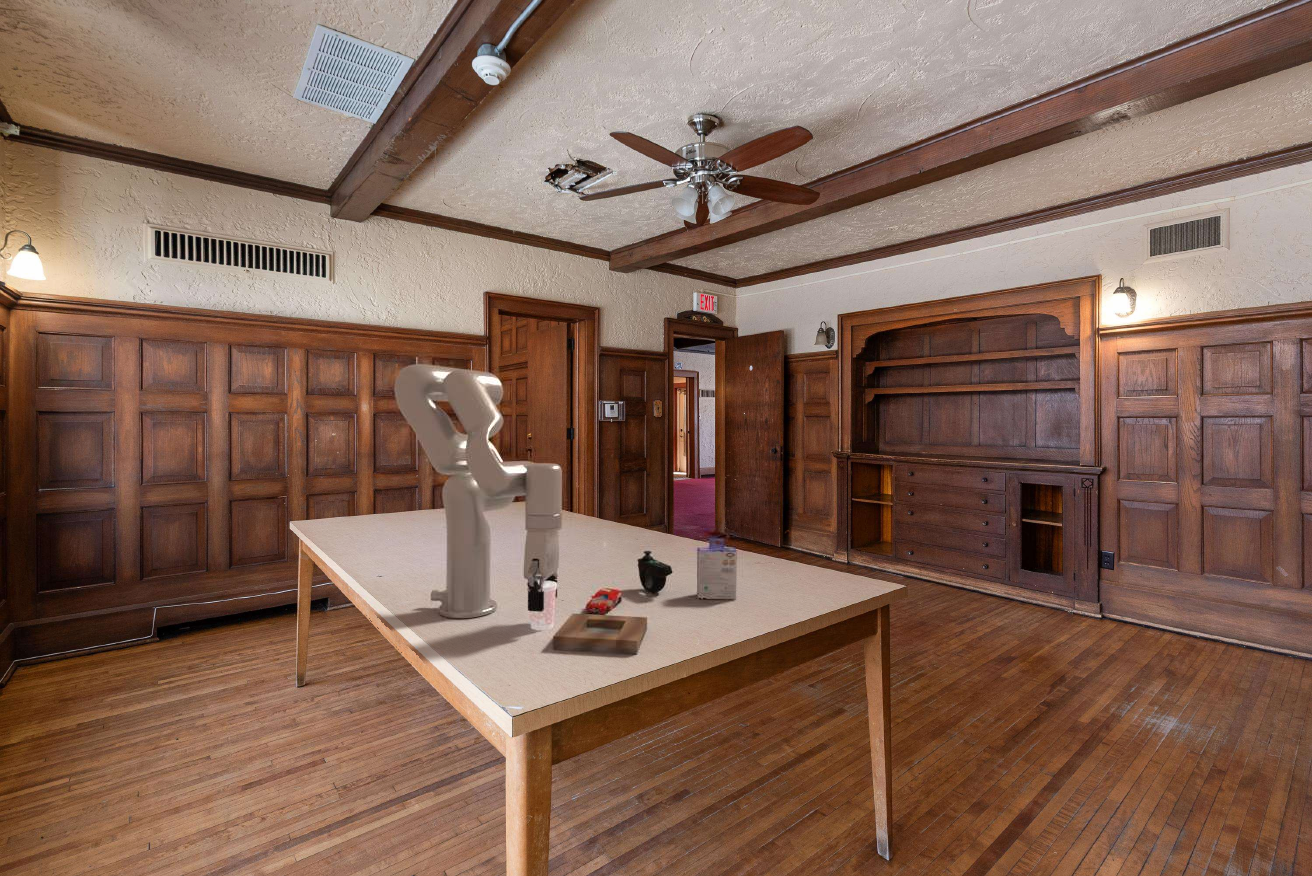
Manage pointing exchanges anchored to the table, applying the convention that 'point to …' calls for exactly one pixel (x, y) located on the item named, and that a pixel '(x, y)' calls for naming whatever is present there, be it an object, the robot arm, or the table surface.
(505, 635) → the table surface
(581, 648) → the brown wooden square frame
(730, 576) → the ink cartridge box
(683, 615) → the table surface
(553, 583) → the beverage cup
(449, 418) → the robot arm
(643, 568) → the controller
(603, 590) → the race car
